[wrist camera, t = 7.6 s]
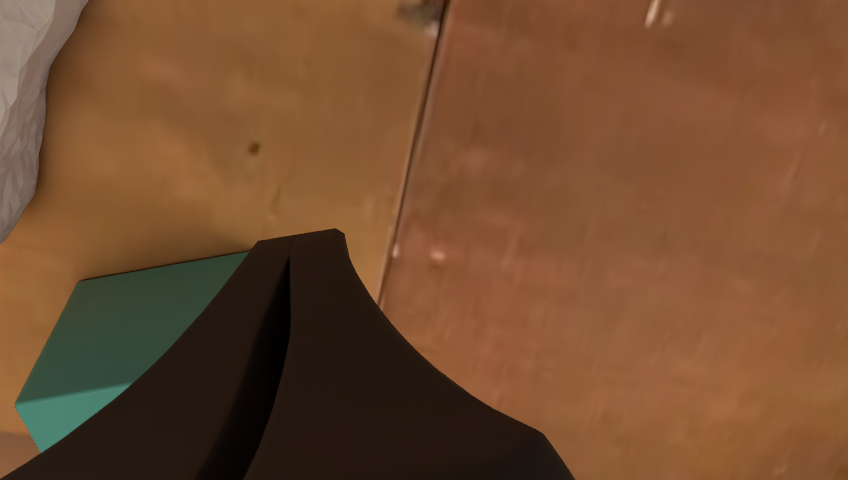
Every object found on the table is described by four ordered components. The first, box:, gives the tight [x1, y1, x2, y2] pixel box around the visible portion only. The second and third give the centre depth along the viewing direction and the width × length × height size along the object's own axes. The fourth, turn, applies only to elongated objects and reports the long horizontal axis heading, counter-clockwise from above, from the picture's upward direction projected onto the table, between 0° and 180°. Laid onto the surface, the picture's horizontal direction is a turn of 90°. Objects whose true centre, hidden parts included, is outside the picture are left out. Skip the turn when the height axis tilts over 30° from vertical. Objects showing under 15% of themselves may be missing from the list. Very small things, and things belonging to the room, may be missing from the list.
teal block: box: [15, 251, 250, 453], centre depth 20 cm, size 5×5×5 cm
